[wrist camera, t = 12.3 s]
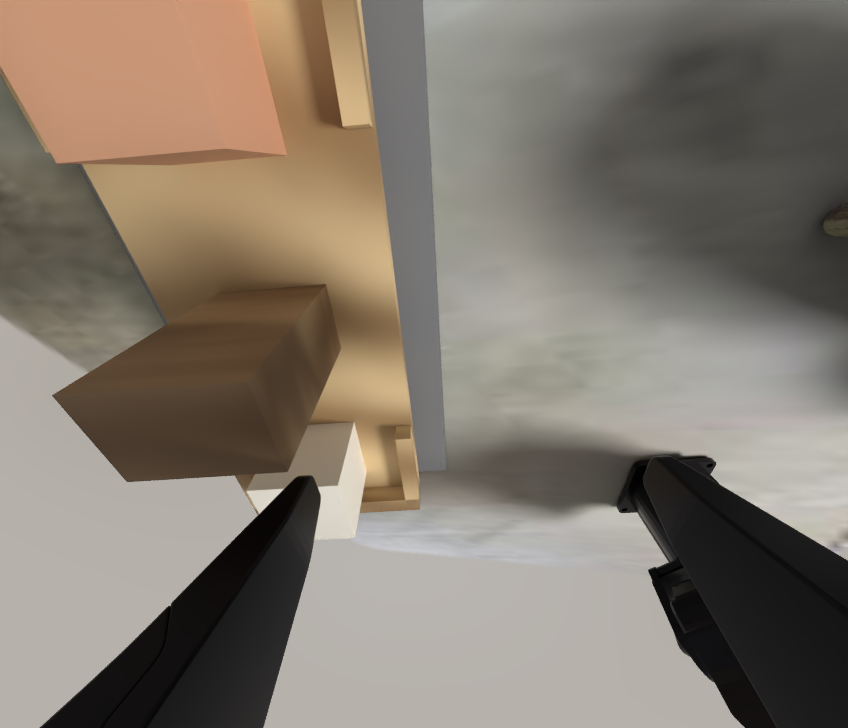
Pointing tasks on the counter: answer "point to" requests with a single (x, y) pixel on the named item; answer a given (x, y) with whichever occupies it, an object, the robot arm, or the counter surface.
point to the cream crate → (323, 478)
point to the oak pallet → (263, 285)
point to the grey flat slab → (401, 207)
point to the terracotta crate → (141, 80)
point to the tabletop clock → (837, 222)
